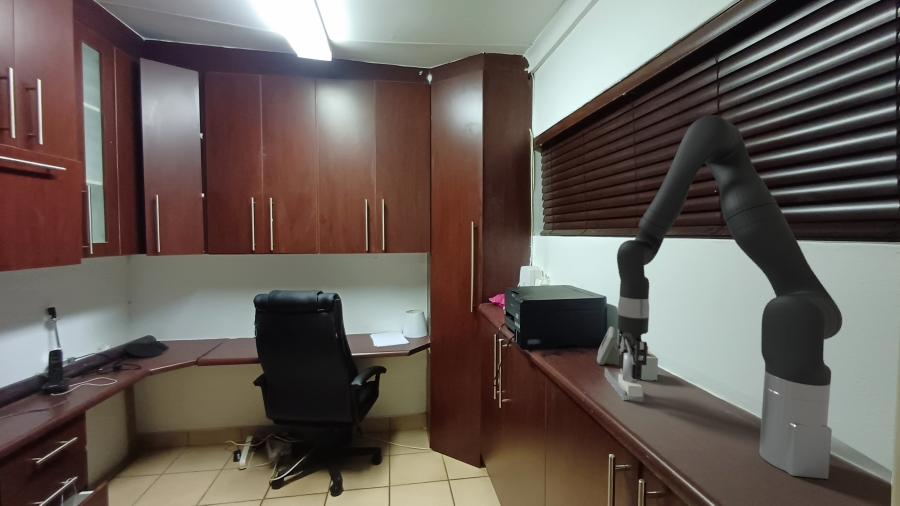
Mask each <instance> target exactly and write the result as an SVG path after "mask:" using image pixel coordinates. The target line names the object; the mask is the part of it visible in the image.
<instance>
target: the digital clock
mask: <svg viewBox="0 0 900 506" xmlns="http://www.w3.org/2000/svg"><path fill="white" fill-rule="evenodd" d="M616 340H617V329H616V328H615V327H614V326H609V328H608V330H607V332H606V333H605V336H604V337H603V340H602V342H601V344H600V346H599V347H598V352H597V357H596V363H597V364H598V365H600V366H601V365H602V366H604V365H605V364H608V365H613V364H615V366H619V365H620V357H621V354H620V349H618V343H616Z"/></svg>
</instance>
